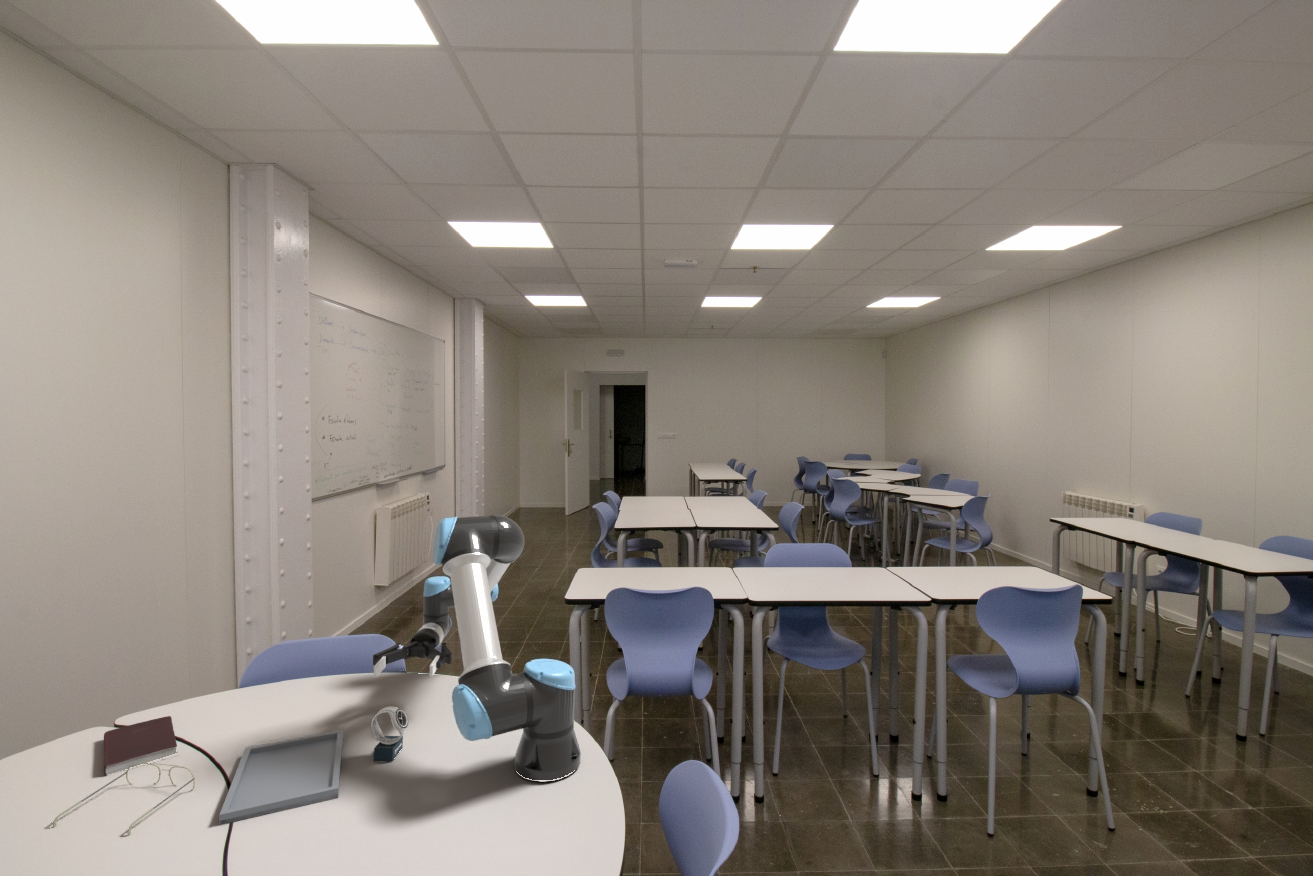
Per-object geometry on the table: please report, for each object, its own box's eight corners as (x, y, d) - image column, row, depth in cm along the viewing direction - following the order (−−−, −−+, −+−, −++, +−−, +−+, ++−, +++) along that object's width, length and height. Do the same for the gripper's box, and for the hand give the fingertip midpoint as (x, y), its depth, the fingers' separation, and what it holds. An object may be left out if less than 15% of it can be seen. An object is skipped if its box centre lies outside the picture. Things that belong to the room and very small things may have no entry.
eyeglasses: (200, 789, 121) (200, 766, 121) (128, 838, 106) (129, 811, 106) (132, 783, 123) (132, 760, 123) (52, 830, 108) (52, 804, 108)
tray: (338, 797, 119) (338, 788, 119) (219, 825, 110) (219, 814, 110) (342, 737, 142) (343, 729, 142) (245, 756, 133) (245, 747, 133)
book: (102, 779, 124) (103, 764, 124) (103, 743, 138) (104, 729, 138) (177, 758, 132) (178, 744, 132) (171, 726, 146) (172, 713, 146)
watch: (401, 762, 132) (402, 714, 132) (366, 761, 132) (367, 714, 132) (410, 748, 138) (412, 703, 138) (377, 748, 137) (378, 703, 137)
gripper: (470, 652, 167) (453, 685, 146) (381, 654, 164) (351, 687, 143) (471, 627, 167) (454, 656, 146) (382, 628, 164) (351, 657, 143)
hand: (403, 671), depth 145 cm, fingers open, 13 cm apart
